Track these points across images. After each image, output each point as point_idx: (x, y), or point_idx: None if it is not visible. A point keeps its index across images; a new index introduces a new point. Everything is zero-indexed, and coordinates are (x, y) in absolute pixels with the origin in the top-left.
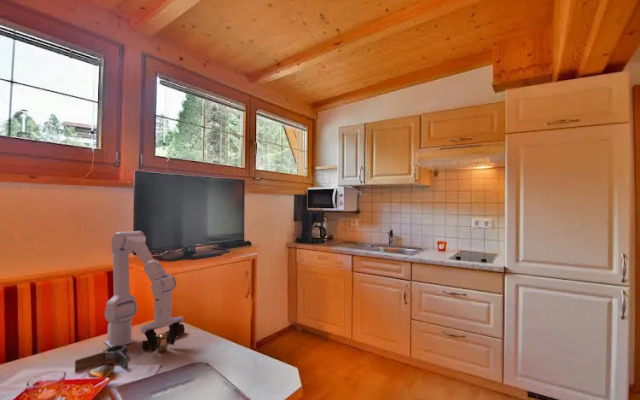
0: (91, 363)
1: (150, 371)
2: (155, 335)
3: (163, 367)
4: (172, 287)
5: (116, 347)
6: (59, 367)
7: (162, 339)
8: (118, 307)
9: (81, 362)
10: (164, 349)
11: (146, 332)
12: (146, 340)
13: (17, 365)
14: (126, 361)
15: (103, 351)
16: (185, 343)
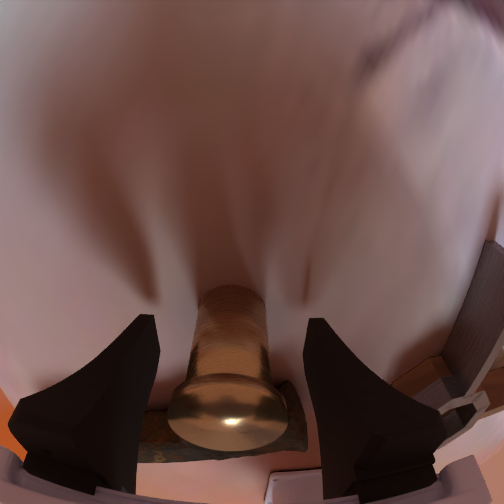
0: (501, 378)
1: (451, 62)
2: (367, 414)
3: (371, 26)
4: None
5: None
6: (498, 412)
7: (247, 373)
8: None
9: None
10: (227, 301)
11: (424, 469)
12: (299, 444)
13: (490, 453)
14: None
15: (475, 422)
16: (61, 309)
